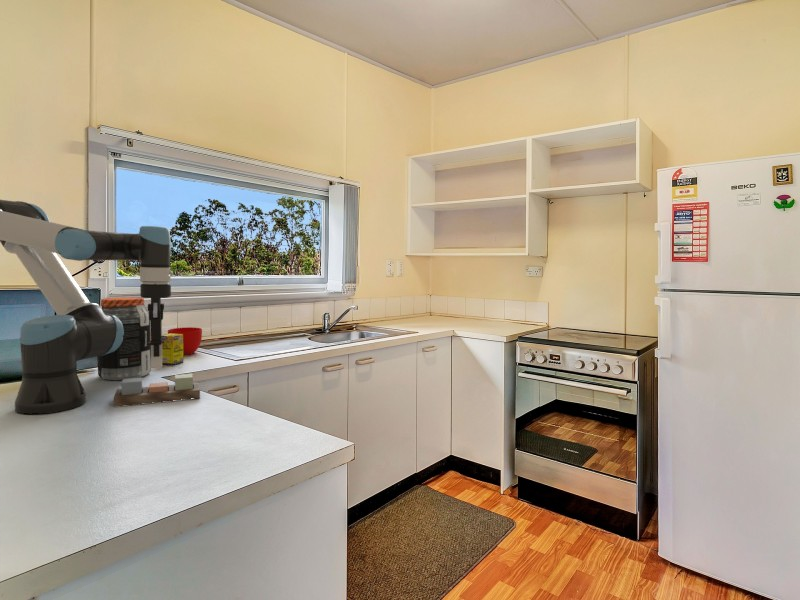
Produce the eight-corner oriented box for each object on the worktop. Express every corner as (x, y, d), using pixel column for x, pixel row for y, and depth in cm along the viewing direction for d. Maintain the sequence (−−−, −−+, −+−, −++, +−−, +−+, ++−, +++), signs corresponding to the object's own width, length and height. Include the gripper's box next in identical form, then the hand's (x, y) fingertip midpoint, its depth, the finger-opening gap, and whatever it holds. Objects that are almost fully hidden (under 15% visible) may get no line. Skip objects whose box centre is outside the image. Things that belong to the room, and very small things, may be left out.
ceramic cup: (154, 357, 192) (153, 332, 191) (181, 349, 208) (180, 326, 208) (184, 359, 190) (183, 333, 189) (208, 351, 206) (208, 328, 205)
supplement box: (173, 365, 178) (173, 336, 177) (159, 364, 179) (158, 335, 178) (184, 362, 183) (183, 333, 183) (170, 361, 185) (169, 333, 184)
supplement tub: (162, 372, 166) (160, 297, 164) (122, 383, 152) (119, 301, 150) (128, 368, 172) (125, 296, 170) (86, 378, 157) (82, 299, 155)
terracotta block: (168, 394, 139) (167, 382, 139) (167, 398, 135) (167, 385, 134) (150, 395, 137) (149, 383, 137) (149, 399, 133) (148, 387, 133)
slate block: (142, 389, 136) (141, 377, 136) (141, 394, 132) (140, 381, 132) (123, 391, 134) (123, 379, 134) (121, 395, 130) (121, 382, 130)
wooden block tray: (198, 390, 144) (198, 382, 144) (199, 398, 136) (199, 390, 136) (117, 398, 136) (117, 389, 135) (113, 407, 128) (113, 397, 127)
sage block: (192, 385, 142) (192, 373, 141) (193, 389, 137) (192, 377, 137) (175, 386, 140) (174, 375, 139) (175, 390, 135) (174, 378, 135)
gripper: (170, 284, 129) (171, 371, 131) (171, 281, 141) (172, 361, 143) (138, 284, 126) (139, 373, 128) (141, 281, 138) (143, 363, 140)
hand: (156, 367), depth 135 cm, fingers closed
